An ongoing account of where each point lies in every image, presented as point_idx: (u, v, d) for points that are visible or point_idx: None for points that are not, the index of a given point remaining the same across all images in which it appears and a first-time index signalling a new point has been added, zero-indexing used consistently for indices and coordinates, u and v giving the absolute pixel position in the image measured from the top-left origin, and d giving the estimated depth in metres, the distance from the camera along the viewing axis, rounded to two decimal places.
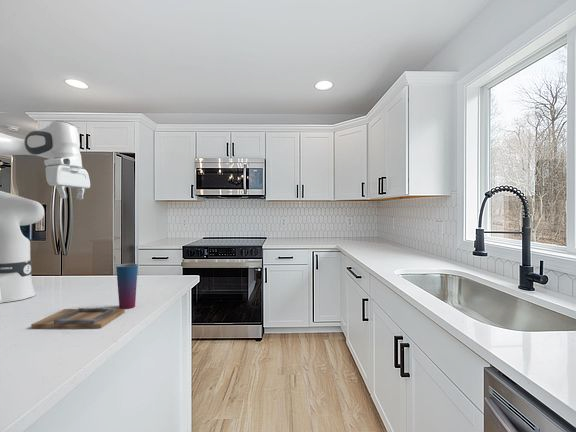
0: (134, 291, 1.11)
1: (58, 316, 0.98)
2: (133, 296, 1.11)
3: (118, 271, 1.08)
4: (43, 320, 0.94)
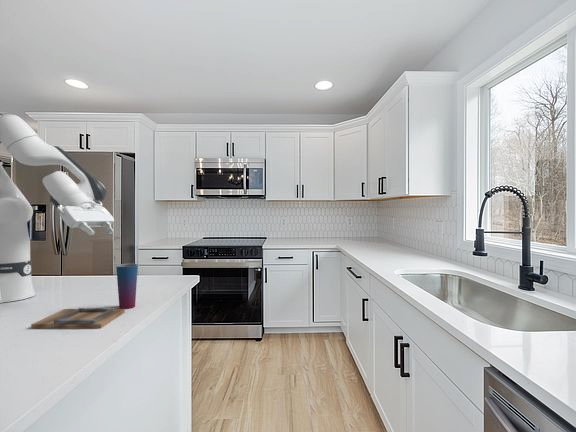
0: (134, 291, 1.11)
1: (58, 316, 0.98)
2: (133, 296, 1.11)
3: (118, 271, 1.08)
4: (43, 320, 0.94)
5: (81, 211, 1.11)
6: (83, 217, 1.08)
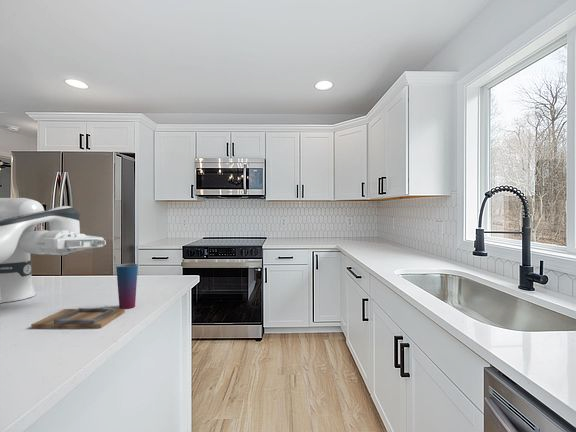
0: (134, 291, 1.11)
1: (58, 316, 0.98)
2: (133, 296, 1.11)
3: (118, 271, 1.08)
4: (43, 320, 0.94)
5: None
6: (64, 238, 1.05)
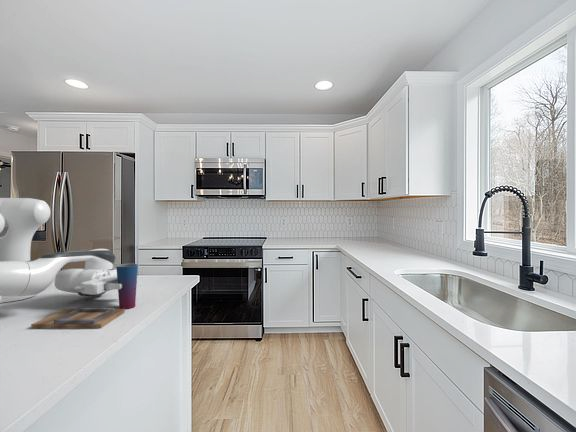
0: (134, 291, 1.11)
1: (58, 316, 0.98)
2: (133, 296, 1.11)
3: (118, 271, 1.08)
4: (43, 320, 0.94)
5: (98, 280, 1.10)
6: (101, 281, 1.07)
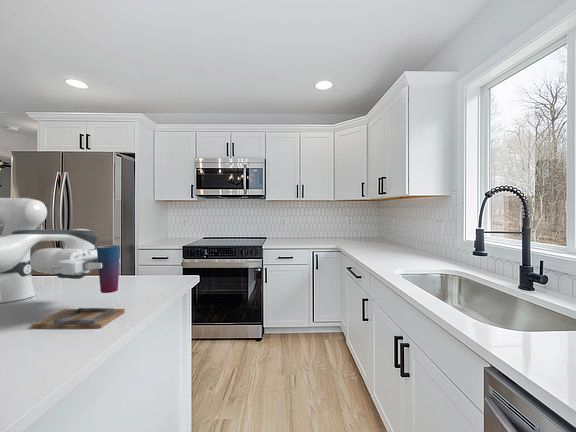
0: (116, 274, 1.04)
1: (58, 316, 0.98)
2: (115, 279, 1.04)
3: (99, 252, 1.01)
4: (43, 320, 0.94)
5: (77, 259, 1.03)
6: (80, 260, 1.00)
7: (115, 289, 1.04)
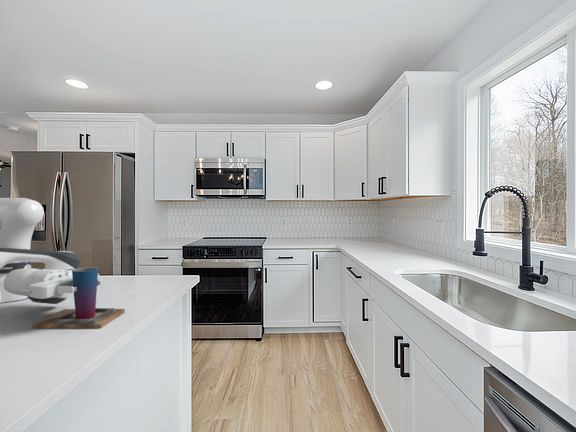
0: (93, 299, 0.97)
1: (58, 316, 0.98)
2: (92, 305, 0.96)
3: (74, 276, 0.94)
4: (43, 320, 0.94)
5: (52, 281, 0.96)
6: (54, 283, 0.93)
7: (91, 315, 0.96)
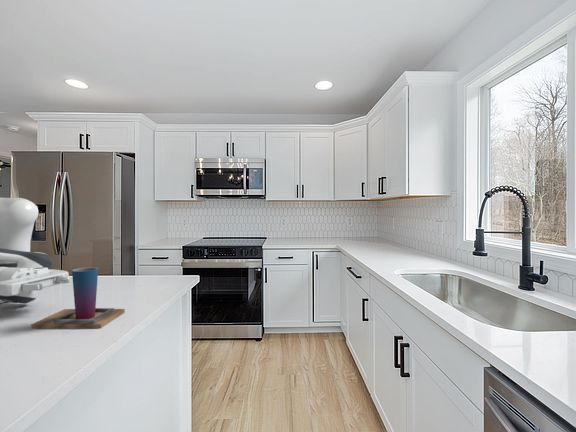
0: (93, 299, 0.97)
1: (58, 316, 0.98)
2: (92, 305, 0.96)
3: (73, 276, 0.94)
4: (43, 320, 0.94)
5: (19, 279, 0.98)
6: (20, 280, 0.95)
7: (91, 315, 0.96)
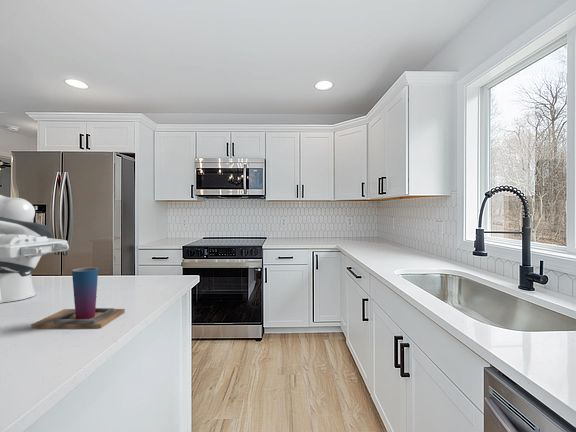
0: (93, 299, 0.97)
1: (58, 316, 0.98)
2: (92, 305, 0.96)
3: (74, 276, 0.94)
4: (43, 320, 0.94)
5: (18, 244, 0.98)
6: (19, 244, 0.95)
7: (91, 315, 0.96)
